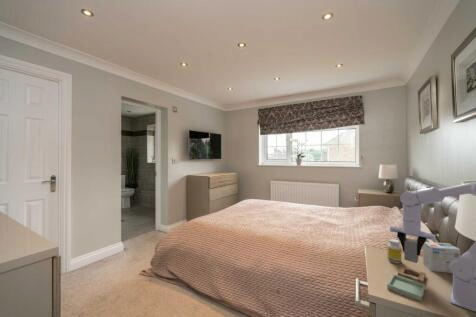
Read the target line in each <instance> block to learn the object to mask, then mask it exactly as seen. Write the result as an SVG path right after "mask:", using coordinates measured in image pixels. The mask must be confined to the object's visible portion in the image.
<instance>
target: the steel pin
mask: <svg viewBox="0 0 476 317" xmlns="http://www.w3.org/2000/svg"><path fill="white" fill-rule="evenodd" d="M417 249H418V243H417V239H413V238H408V237H406V239H405V252H404V260H405V261H409V262H412V263H414V264H417V263H418V262H419V255H417Z"/></svg>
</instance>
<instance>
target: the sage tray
mask: <svg viewBox="0 0 476 317" xmlns="http://www.w3.org/2000/svg"><path fill="white" fill-rule="evenodd" d="M386 286H387V287H386V288H387V290H389V291H393V292H395V293H398V294H400V295H402V296H405V297H408V298H410V299H413V300H415V301H419V302H421V303H422V302H423V298H424V295H425V292H426V284H425V283H423V284H422V283H419V282H416V281H413V280H410V279H407V278H404V277H401V276H398V274H395V273H393V274H392V276H391V277H390V279H389V280H388V282H387V285H386Z"/></svg>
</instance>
